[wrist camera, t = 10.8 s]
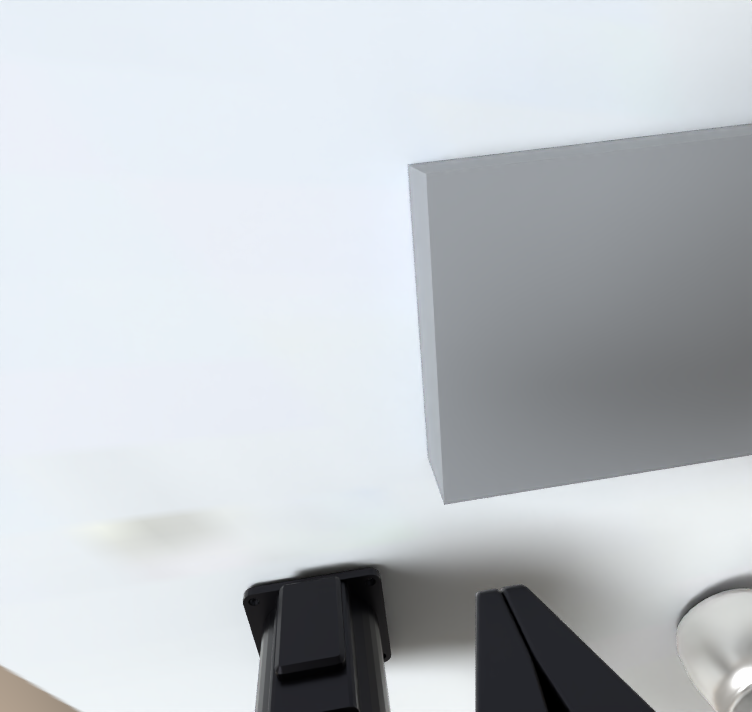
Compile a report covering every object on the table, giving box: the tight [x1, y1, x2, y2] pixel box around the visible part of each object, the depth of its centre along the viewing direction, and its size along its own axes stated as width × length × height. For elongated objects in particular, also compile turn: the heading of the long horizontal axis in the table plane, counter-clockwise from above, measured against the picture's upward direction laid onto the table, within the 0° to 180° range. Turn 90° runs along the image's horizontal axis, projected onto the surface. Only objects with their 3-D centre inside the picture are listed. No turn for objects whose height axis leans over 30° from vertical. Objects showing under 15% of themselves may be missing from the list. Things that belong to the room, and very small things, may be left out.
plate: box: [408, 124, 752, 505], centre depth 19 cm, size 12×14×3 cm
